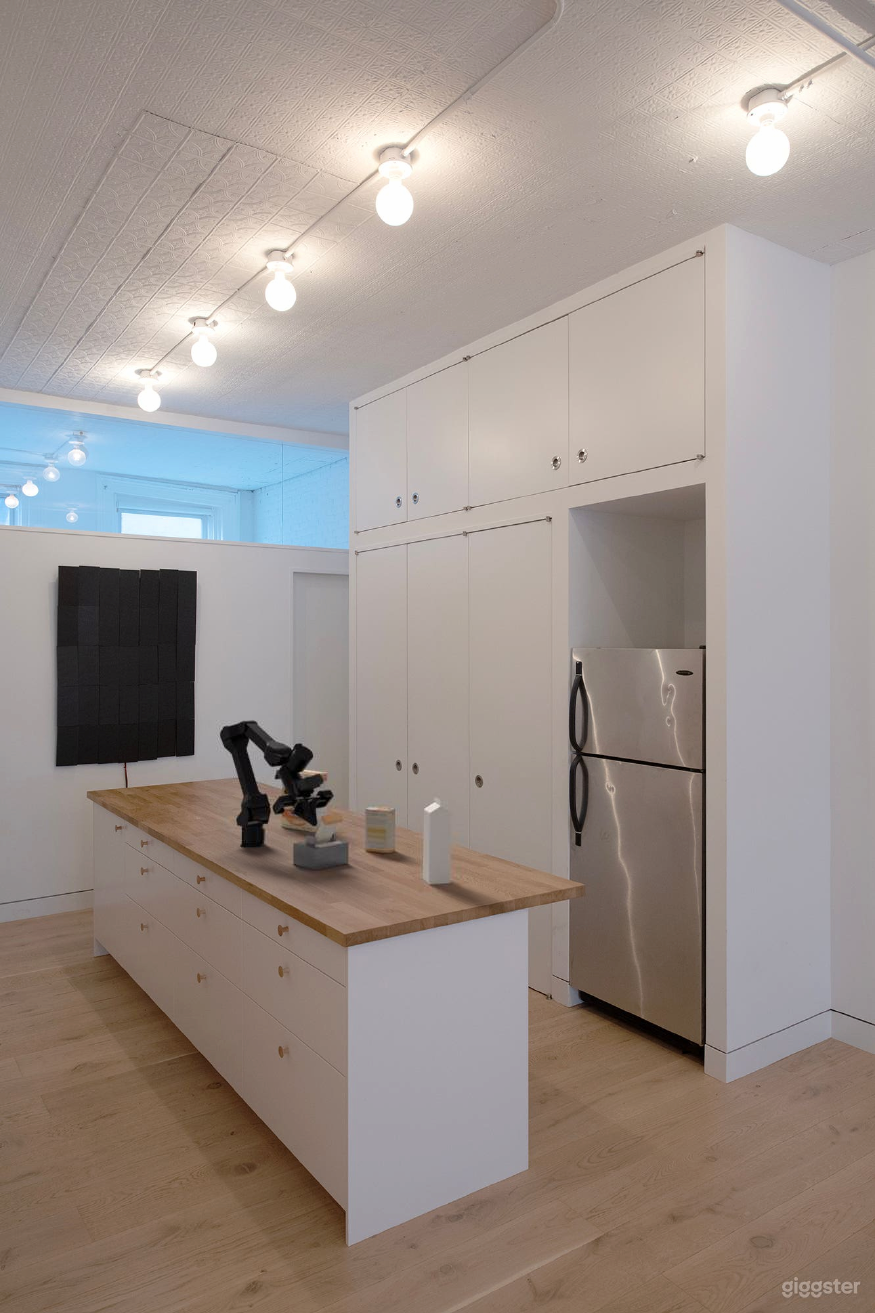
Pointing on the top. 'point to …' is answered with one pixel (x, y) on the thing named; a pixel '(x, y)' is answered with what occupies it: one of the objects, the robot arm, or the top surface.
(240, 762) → the robot arm
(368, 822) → the supplement box
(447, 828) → the milk
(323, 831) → the lever
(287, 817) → the coffeecake box
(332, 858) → the box
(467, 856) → the top surface
